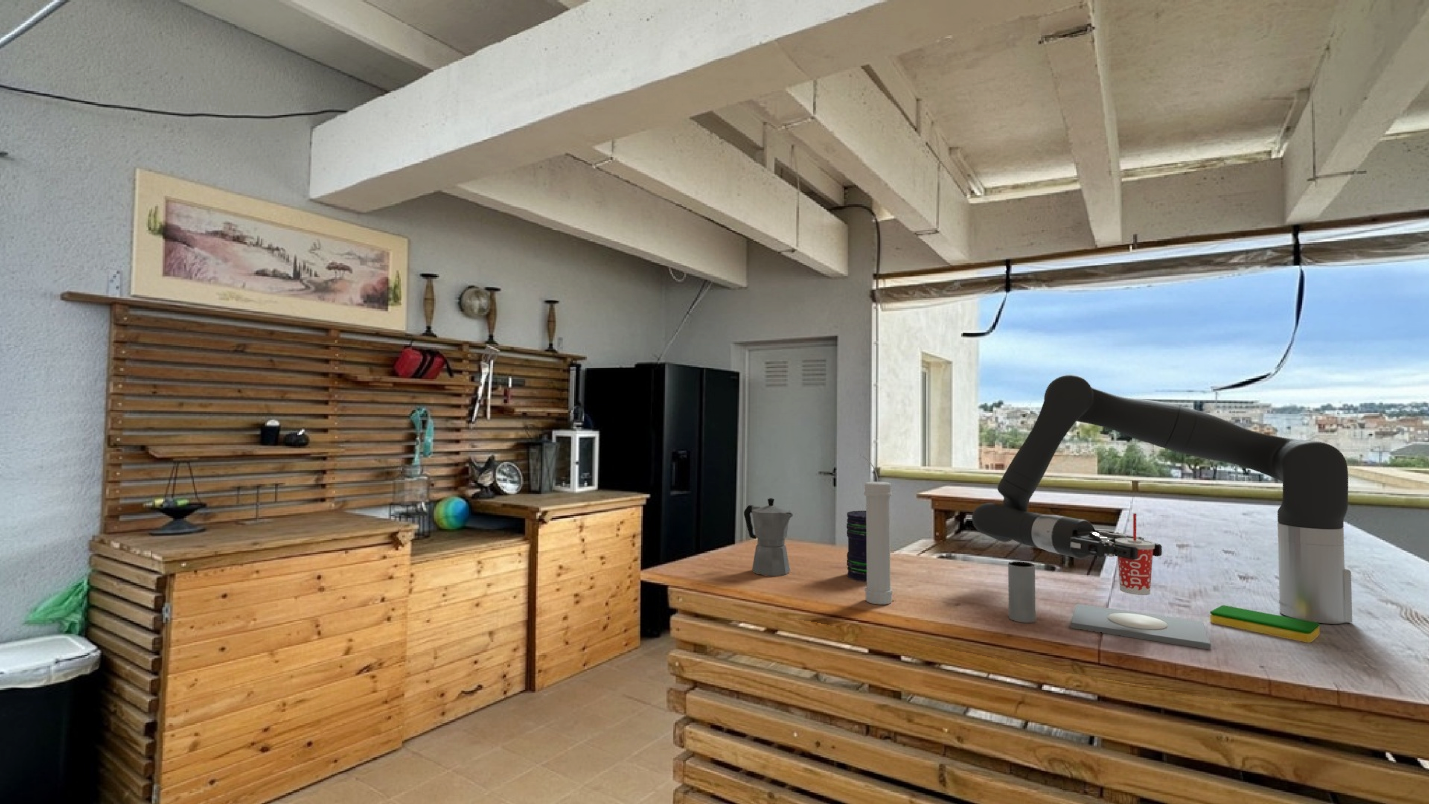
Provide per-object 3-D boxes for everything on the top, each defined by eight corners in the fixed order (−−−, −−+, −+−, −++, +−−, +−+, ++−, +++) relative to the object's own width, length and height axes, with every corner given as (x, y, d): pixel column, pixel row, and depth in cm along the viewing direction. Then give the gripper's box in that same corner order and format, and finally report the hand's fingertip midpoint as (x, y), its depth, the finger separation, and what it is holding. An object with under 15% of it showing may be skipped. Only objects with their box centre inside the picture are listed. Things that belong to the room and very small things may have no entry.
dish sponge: (1222, 617, 124) (1222, 604, 124) (1320, 636, 113) (1319, 622, 113) (1209, 624, 120) (1209, 611, 120) (1309, 645, 108) (1309, 631, 109)
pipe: (893, 606, 130) (892, 455, 131) (861, 604, 131) (860, 455, 132) (891, 598, 135) (890, 454, 136) (860, 596, 136) (860, 454, 137)
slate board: (1203, 626, 117) (1203, 619, 117) (1210, 649, 105) (1210, 642, 105) (1076, 608, 128) (1076, 602, 128) (1070, 627, 116) (1070, 621, 116)
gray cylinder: (1024, 624, 118) (1024, 567, 118) (1003, 617, 122) (1002, 562, 122) (1041, 620, 120) (1040, 565, 120) (1019, 614, 124) (1018, 560, 125)
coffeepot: (804, 573, 157) (804, 498, 158) (779, 580, 151) (779, 502, 151) (757, 563, 168) (757, 493, 169) (731, 569, 162) (731, 496, 162)
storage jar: (895, 575, 155) (894, 512, 156) (882, 584, 147) (881, 517, 147) (855, 570, 161) (854, 509, 161) (840, 578, 152) (840, 514, 153)
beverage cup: (1111, 591, 117) (1111, 513, 117) (1118, 585, 121) (1118, 509, 121) (1151, 598, 113) (1151, 517, 113) (1158, 591, 117) (1158, 513, 117)
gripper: (1037, 518, 127) (1122, 533, 112) (1086, 514, 133) (1173, 528, 118) (1037, 557, 127) (1122, 577, 112) (1086, 551, 133) (1173, 569, 118)
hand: (1148, 552), depth 115 cm, fingers closed on beverage cup, 6 cm apart
